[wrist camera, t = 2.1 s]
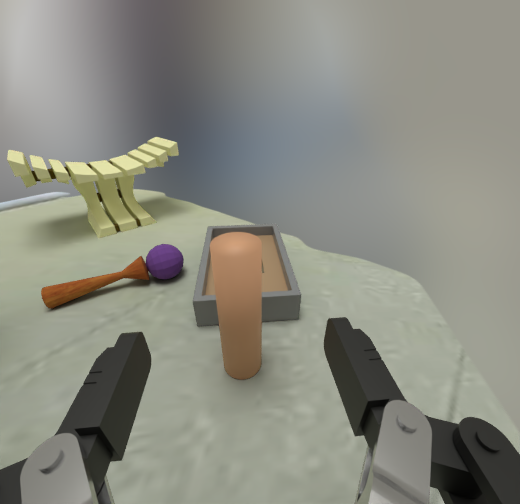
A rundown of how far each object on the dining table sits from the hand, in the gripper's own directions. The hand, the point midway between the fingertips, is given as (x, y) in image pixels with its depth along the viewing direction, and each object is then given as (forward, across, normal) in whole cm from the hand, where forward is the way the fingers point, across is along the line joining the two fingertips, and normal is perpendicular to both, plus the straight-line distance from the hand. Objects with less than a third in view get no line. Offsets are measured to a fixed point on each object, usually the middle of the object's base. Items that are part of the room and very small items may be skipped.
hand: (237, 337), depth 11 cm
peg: (+11, 0, +17) cm, 21 cm away
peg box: (+28, -1, +17) cm, 33 cm away
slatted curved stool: (+56, +30, +17) cm, 66 cm away
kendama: (+27, +19, +18) cm, 38 cm away
